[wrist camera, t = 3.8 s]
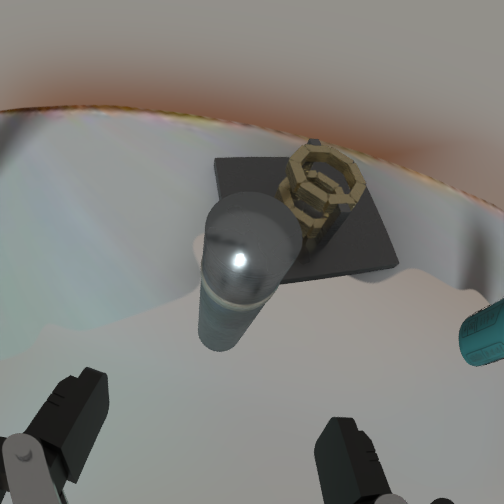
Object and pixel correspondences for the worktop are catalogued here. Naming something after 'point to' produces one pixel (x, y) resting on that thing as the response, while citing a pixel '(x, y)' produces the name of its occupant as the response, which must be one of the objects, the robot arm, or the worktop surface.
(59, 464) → the robot arm
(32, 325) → the worktop surface
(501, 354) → the beverage bottle
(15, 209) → the worktop surface
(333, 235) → the dark square plate
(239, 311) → the glossy dome-topped cylinder
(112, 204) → the worktop surface
